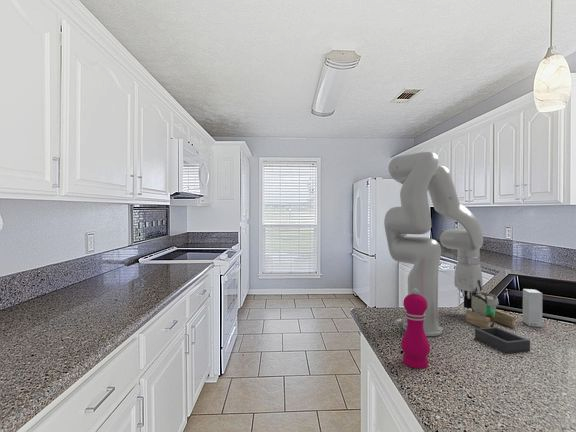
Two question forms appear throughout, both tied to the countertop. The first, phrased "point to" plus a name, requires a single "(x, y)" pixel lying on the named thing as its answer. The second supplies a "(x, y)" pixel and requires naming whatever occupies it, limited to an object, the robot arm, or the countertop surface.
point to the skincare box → (532, 307)
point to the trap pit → (502, 339)
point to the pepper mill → (415, 332)
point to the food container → (484, 305)
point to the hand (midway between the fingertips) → (468, 307)
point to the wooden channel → (485, 321)
